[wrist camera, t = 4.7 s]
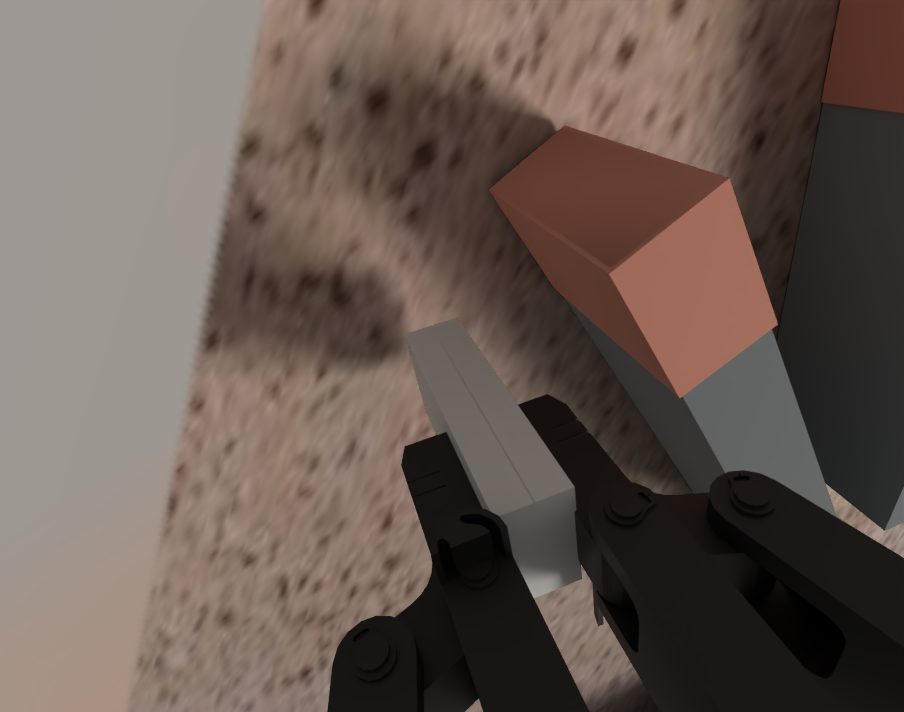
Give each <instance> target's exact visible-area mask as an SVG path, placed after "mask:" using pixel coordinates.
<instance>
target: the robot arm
mask: <svg viewBox="0 0 904 712" xmlns="http://www.w3.org/2000/svg"><path fill="white" fill-rule="evenodd" d="M405 338H406V341H407V345H408V349H409V352H410V356H411V359H412V363H413V367H414V370H415V374H416V377H417V381H418V385H419V388H420V392H421V395H422V399H423V403H424V406H425V410H426V413H427V415H428V417H429V419H430V422H431V424H432V426H433V428H434V431H435V433H436V436H433V437H430V438H427V439H425V440H422V441H419V442H416V443H413V444H411V445H408V446H405V449H404V454H403V459H402V464H401V466H402V469H403V472H404V475H405V478H406V481H407V484H408V487H409V490H410V493H411V496H412V499H413V502H414V505H415V508H416V511H417V514H418V517H419V520H420V523H421V526H422V529H423V532H424V535H425V538H426V541H427V544H428V547H429V550H430V553H431V558H432V573H431V577H430V579H429V582H428V585H427V586H426V588H425V589H424V591H423V592H422V594H421V595H420V596H419V597H418V598H417V599H416V600H415V601H414V602H413V603H412V604H411V605H410V606H409V607H407V608H406V609H405V610H404V611H402V612H401V613H400V614H399V615H397V616H396V617H395V618H394V617H392V616H375V617H372V618H369V619H366V620H364V621H361V622H360V623H359V624H357V625H356V626H355V627H354V628H352V629H351V630H350V631H349V632H347V634H346V635H345V637H344V638H343V640H342V641H341V643H340V644H339V646H338V648H337V651H336V654H335V658H334V661H333V666H332V675H331V684H330V693H329V703H328V712H465V711H466V710H467V709H468V708H469V707H470V706H471V705H472V704H473V703H474V702H475V701H476V700H477V699H478V698H479V700H480V703H481V706H482V709H483V712H589V710H588V708H587V706H586V704H585V702H584V700H583V698H582V696H581V694H580V692H579V690H578V688H577V686H576V684H575V682H574V680H573V677H572V675H571V673H570V671H569V669H568V667H567V665H566V663H565V661H564V659H563V657H562V655H561V653H560V651H559V649H558V647H557V645H556V643H555V641H554V639H553V637H552V635H551V633H550V631H549V628H548V626H547V624H546V622H545V620H544V618H543V616H542V614H541V612H540V610H539V608H538V606H537V604H536V602H535V600H534V598H537V597H539V596H541V595H544V594H546V593H549V592H551V591H553V590H556V589H558V588H561V587H563V586H565V585H568V584H570V583H573V582H575V581H577V580H580V579H582V575H581V565H582V566H583V568H584V570H585V571H586V573H587V575H588V576H589V578H590V580H591V581H592V583H593V599H594V615H595V618H596V621H597V624H598V626H600V625H602V624H603V616H604V617H605V619H606V621H607V622H608V624H609V626H610V628H611V629H612V631H613V633H614V634H615V636H616V638H617V640H618V641H619V643H620V645H621V646H622V648H623V650H624V651H625V653H626V655H627V657H628V658H629V660H630V662H631V663H632V665H633V667H634V669H635V670H636V672H637V674H638V675H639V677H640V679H641V680H642V682H643V684H644V686H645V687H646V689H647V691H648V692H649V694H650V696H651V697H652V699H653V701H654V703H655V704H656V706H657V708H658V709H659V711H660V712H904V558H903V557H901V556H900V555H898V554H896V553H895V552H893V551H891V550H890V549H888V548H886V547H885V546H883V545H881V544H880V543H878V542H877V541H875V540H873V539H872V538H870V537H868V536H867V535H865V534H863V533H862V532H860V531H858V530H857V529H855V528H854V527H852V526H850V525H849V524H847V523H845V522H844V521H842V520H840V519H839V518H837V517H835V516H834V515H832V514H830V513H829V512H827V511H826V510H824V509H822V508H821V507H819V506H817V505H816V504H814V503H812V502H811V501H809V500H807V499H806V498H804V497H803V496H801V495H799V494H798V493H796V492H794V491H793V490H791V489H789V488H788V487H786V486H784V485H783V484H781V483H779V482H778V481H776V480H774V479H772V478H770V477H768V476H765V475H763V474H761V473H757V472H751V471H745V470H741V471H729V472H727V473H725V474H722V475H720V476H718V477H717V478H716V479H715V480H714V481H713V483H712V484H711V485H710V490H709V492H708V493H697V494H685V495H661V494H656V493H653V492H652V491H651V490H650V489H649V488H647V487H644V486H641V485H639V484H636V483H632V482H631V481H630V480H629V479H628V478H627V477H626V476H625V475H624V474H623V473H622V472H621V470H620V469H619V468H618V467H617V466H616V464H615V463H614V462H613V461H612V459H611V458H610V457H609V456H608V455H607V453H606V452H605V451H604V450H603V449H602V447H601V446H600V445H599V444H598V442H597V441H596V440H595V439H594V438H593V436H592V435H591V434H590V433H588V430H587V429H586V428H585V427H584V425H583V424H582V423H581V422H579V421H578V418H577V417H576V416H575V414H574V413H573V412H572V411H571V410H570V408H569V407H568V406H567V405H566V404H565V403H563V402H561V401H559V400H557V399H556V398H554V397H552V396H550V395H548V394H547V395H544V396H541V397H538V398H535V399H533V400H530V401H527V402H524V403H521V404H519V405H518V404H517V403H516V402H515V400H514V399H513V397H512V396H511V394H510V393H509V391H508V390H507V389H506V387H505V386H504V384H503V383H502V381H501V380H500V378H499V377H498V376H497V374H496V373H495V371H494V370H493V368H492V367H491V365H490V364H489V363H488V361H487V360H486V358H485V357H484V355H483V354H482V352H481V351H480V350H479V348H478V347H477V345H476V344H475V342H474V341H473V339H472V338H471V337H470V335H469V334H468V332H467V331H466V329H465V328H464V326H463V325H462V324H461V322H460V321H459V319H458V318H454V319H451V320H448V321H445V322H442V323H439V324H436V325H433V326H430V327H426V328H423V329H420V330H417V331H414V332H411V333H408V334H405Z"/></svg>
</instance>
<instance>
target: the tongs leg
mask: <svg viewBox="0 0 904 712" xmlns="http://www.w3.org/2000/svg"><path fill="white" fill-rule="evenodd" d="M489 191H490V193H491V194H492V196H493V197H494V199H495V200H496V202H497V203H498V205H499V206H500V208H501V209H502V211H503V212H504V214H505V215H506V217H507V218H508V220H509V221H510V223H511V224H512V226H513V227H514V229H515V230H516V232H517V233H518V235H519V236H520V238H521V239H522V241H523V242H524V244H525V245H526V247H527V248H528V250H529V251H530V253H531V254H532V256H533V257H534V259H535V260H536V262H537V263H538V265H539V266H540V268H541V269H542V271H543V272H544V274H545V275H546V277H547V278H548V280H549V281H550V283H551V284H552V286H553V287H554V289H555V290H556V291H558V292H559V293H560V294H561V295H562V296H563V297H564V298H565V299H566V301H567V302H568V304H569V305H570V307H571V308H572V310H573V311H574V313H575V315H576V316H577V318H578V319H579V321H580V322H581V324H582V325H583V327H584V328H585V330H586V331H587V333H588V334H589V336H590V337H591V339H592V340H593V342H594V343H595V345H596V346H597V348H598V349H599V351H600V352H601V354H602V355H603V357H604V358H605V360H606V361H607V363H608V364H609V366H610V367H611V369H612V370H613V372H614V373H615V375H616V376H617V378H618V379H619V381H620V382H621V384H622V385H623V387H624V389H625V390H626V392H627V393H628V395H629V396H630V398H631V399H632V401H633V402H634V404H635V405H636V407H637V408H638V410H639V411H640V413H641V414H642V416H643V417H644V419H645V420H646V422H647V423H648V425H649V426H650V428H651V429H652V431H653V432H654V434H655V435H656V437H657V438H658V440H659V441H660V443H661V444H662V446H663V447H664V449H665V450H666V452H667V453H668V455H669V456H670V458H671V460H672V461H673V463H674V464H675V466H676V467H677V469H678V470H679V472H680V473H681V475H682V476H683V478H684V479H685V481H686V482H687V484H688V485H689V487H690V488H691V490H692V491H693V492H694V493H695V494H697V493H708V492H709V490H710V485H711V484H712V483H713V481H714V480H715V479H716V478H717V477H718V476H720V475H722V474H725V473H727V472H729V471H741V470H745V471H751V472H757V473H761V474H763V475H765V476H768V477H770V478H772V479H774V480H776V481H778V482H779V483H781V484H783V485H784V486H786V487H788V488H789V489H791V490H793V491H794V492H796V493H798V494H799V495H801V496H803V497H804V498H806V499H807V500H809V501H811V502H812V503H814V504H816V505H817V506H819V507H821V508H822V509H824V510H826V511H827V512H829V513H830V514H832V515H834V516H835V517H837V516H836V513H835V510H834V507H833V505H832V502H831V499H830V496H829V493H828V490H827V487H826V484H825V481H824V478H823V476H822V473H821V470H820V467H819V464H818V461H817V458H816V455H815V452H814V450H813V447H812V444H811V441H810V438H809V435H808V432H807V429H806V426H805V423H804V421H803V418H802V415H801V412H800V409H799V406H798V403H797V400H796V397H795V395H794V392H793V389H792V386H791V383H790V380H789V377H788V374H787V371H786V368H785V366H784V363H783V360H782V357H781V354H780V351H779V348H778V345H777V342H776V340H775V337H774V334H773V331H772V329H773V328H774V327H775V326H776V325H778V323H777V320H776V317H775V314H774V311H773V308H772V305H771V302H770V299H769V296H768V293H767V290H766V287H765V284H764V281H763V278H762V275H761V272H760V269H759V266H758V263H757V260H756V257H755V254H754V251H753V248H752V245H751V242H750V239H749V236H748V233H747V230H746V227H745V224H744V221H743V218H742V215H741V212H740V209H739V206H738V203H737V200H736V196H735V193H734V190H733V187H732V184H731V181H730V178H727V177H724V176H721V175H718V174H715V173H711V172H708V171H705V170H702V169H699V168H696V167H693V166H690V165H686V164H683V163H680V162H677V161H674V160H671V159H668V158H664V157H661V156H658V155H655V154H652V153H649V152H646V151H643V150H639V149H636V148H633V147H630V146H627V145H624V144H621V143H618V142H614V141H611V140H608V139H605V138H602V137H599V136H596V135H593V134H589V133H586V132H583V131H580V130H577V129H574V128H571V127H568V126H564V127H562V128H561V129H560V130H559V131H558V132H557V133H555V134H554V135H553V136H552V137H551V138H549V139H548V140H547V141H546V142H545V143H543V144H542V145H541V146H540V147H539V148H537V149H536V150H535V151H534V152H533V153H532V154H530V155H529V156H528V157H527V158H526V159H524V160H523V161H522V162H521V163H520V164H518V165H517V166H516V167H515V168H514V169H512V170H511V171H510V172H509V173H508V174H507V175H505V176H504V177H503V178H502V179H501V180H499V181H498V182H497V183H496V184H495V185H493V186H492V187H491V188H490V189H489Z"/></svg>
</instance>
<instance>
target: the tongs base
mask: <svg viewBox="0 0 904 712" xmlns="http://www.w3.org/2000/svg"><path fill="white" fill-rule="evenodd" d="M821 102H823V107H822V112H821V117H820V123H819V128H818V133H817V138H816V143H815V148H814V153H813V158H812V164H811V169H810V174H809V179H808V184H807V189H806V194H805V199H804V205H803V210H802V215H801V220H800V225H799V230H798V235H797V241H796V246H795V251H794V256H793V261H792V266H791V271H790V276H789V282H788V287H787V292H786V297H785V302H784V307H783V312H782V317H781V323H780V328H779V333H778V338H777V345H778V348H779V351H780V354H781V357H782V360H783V363H784V366H785V368H786V371H787V374H788V377H789V380H790V383H791V386H792V389H793V392H794V395H795V397H796V400H797V403H798V406H799V409H800V412H801V415H802V418H803V421H804V423H805V426H806V429H807V432H808V435H809V438H810V441H811V444H812V447H813V450H814V452H815V455H816V458H817V461H818V464H819V467H820V470H821V473H822V476H823V478H824V481H825V483H826V484H827V485H828V486H830V487H831V488H832V489H833V490H835V491H836V492H837V493H838V494H839V495H841V496H842V497H843V498H844V499H846V500H847V501H848V502H849V503H851V504H852V505H853V506H854V507H856V508H857V509H858V510H859V511H861V512H862V513H863V514H864V515H866V516H867V517H868V518H869V519H871V520H872V521H873V522H874V523H876V524H877V525H878V526H879V527H881V528H882V529H883V530H884V531H885V530H887V529H889V528H892V527H894V526H896V525H898V524H901V523H903V522H904V0H841V1H840V6H839V11H838V16H837V21H836V27H835V32H834V37H833V42H832V47H831V53H830V58H829V63H828V68H827V73H826V79H825V84H824V89H823V94H822V99H821ZM836 516H837V515H836ZM837 518H839V519H840V520H842V519H841V518H840V517H838V516H837ZM842 521H843V520H842ZM845 523H846V522H845Z"/></svg>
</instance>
